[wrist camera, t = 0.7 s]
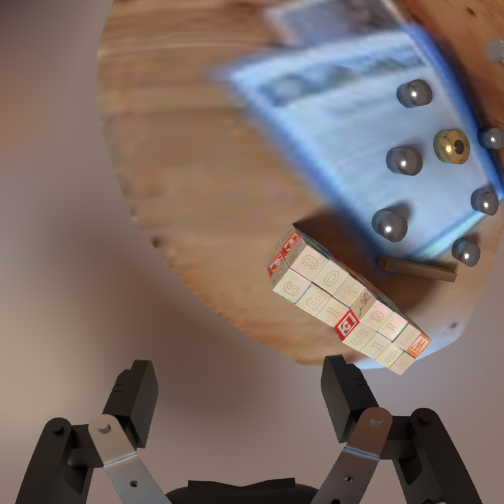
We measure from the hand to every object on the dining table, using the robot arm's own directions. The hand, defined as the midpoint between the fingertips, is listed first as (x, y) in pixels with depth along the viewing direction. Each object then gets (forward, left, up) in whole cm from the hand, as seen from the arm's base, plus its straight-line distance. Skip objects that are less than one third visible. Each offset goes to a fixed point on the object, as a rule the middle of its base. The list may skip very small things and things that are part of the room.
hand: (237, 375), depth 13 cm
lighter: (-41, +38, -27) cm, 62 cm away
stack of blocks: (+5, +15, -27) cm, 32 cm away
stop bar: (0, +28, -27) cm, 39 cm away
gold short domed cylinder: (-19, +28, -27) cm, 44 cm away
